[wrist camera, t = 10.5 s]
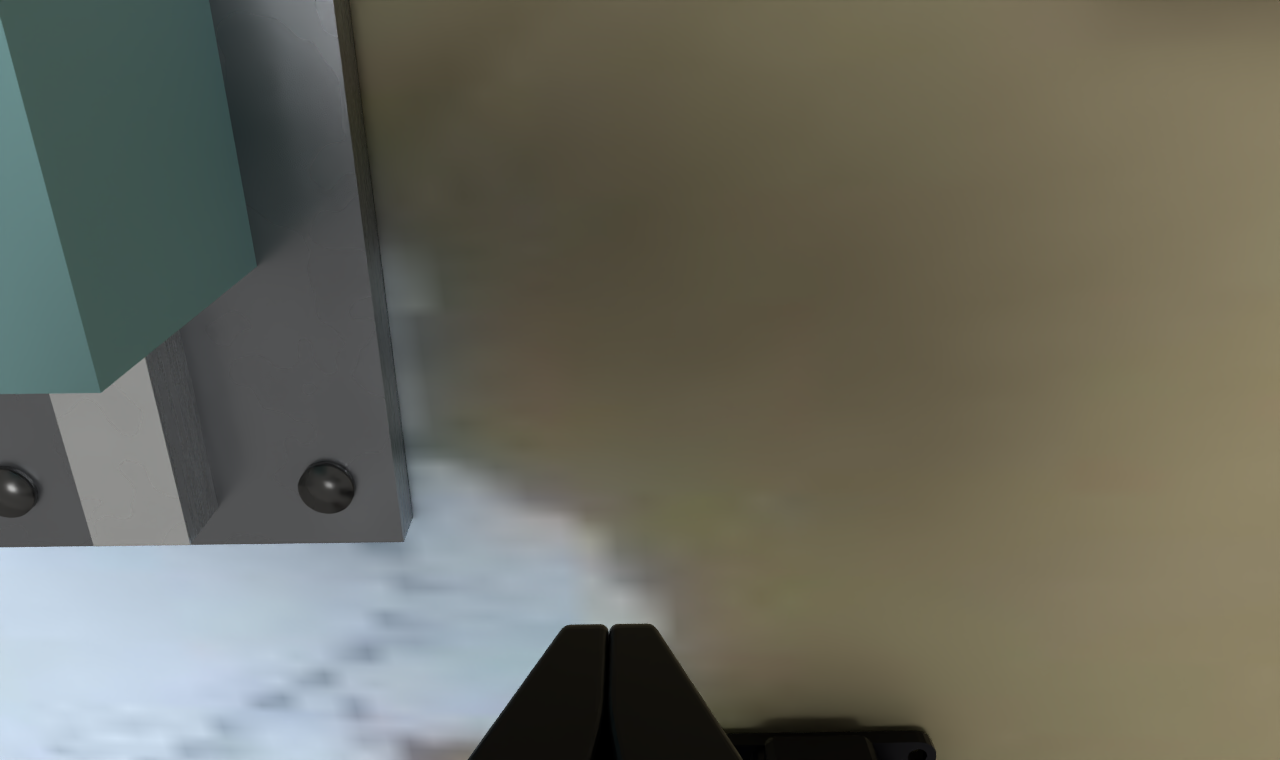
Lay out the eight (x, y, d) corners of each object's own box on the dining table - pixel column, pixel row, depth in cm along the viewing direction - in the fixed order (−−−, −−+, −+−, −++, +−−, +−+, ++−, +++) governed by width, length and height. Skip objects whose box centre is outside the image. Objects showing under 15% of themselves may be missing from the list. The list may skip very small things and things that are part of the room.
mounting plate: (413, 518, 22) (388, 581, 20) (-11, 523, 22) (-84, 588, 20) (271, -620, 14) (202, -735, 12) (-405, -620, 14) (-610, -738, 11)
